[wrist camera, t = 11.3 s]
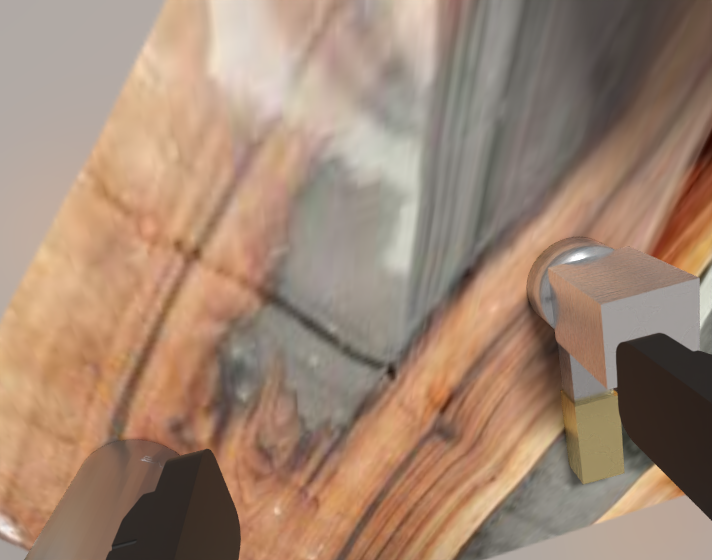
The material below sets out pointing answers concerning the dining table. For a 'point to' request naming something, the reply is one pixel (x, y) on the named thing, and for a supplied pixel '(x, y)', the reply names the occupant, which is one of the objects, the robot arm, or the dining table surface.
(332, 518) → the dining table surface
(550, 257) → the ratchet
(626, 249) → the brushed steel cube
